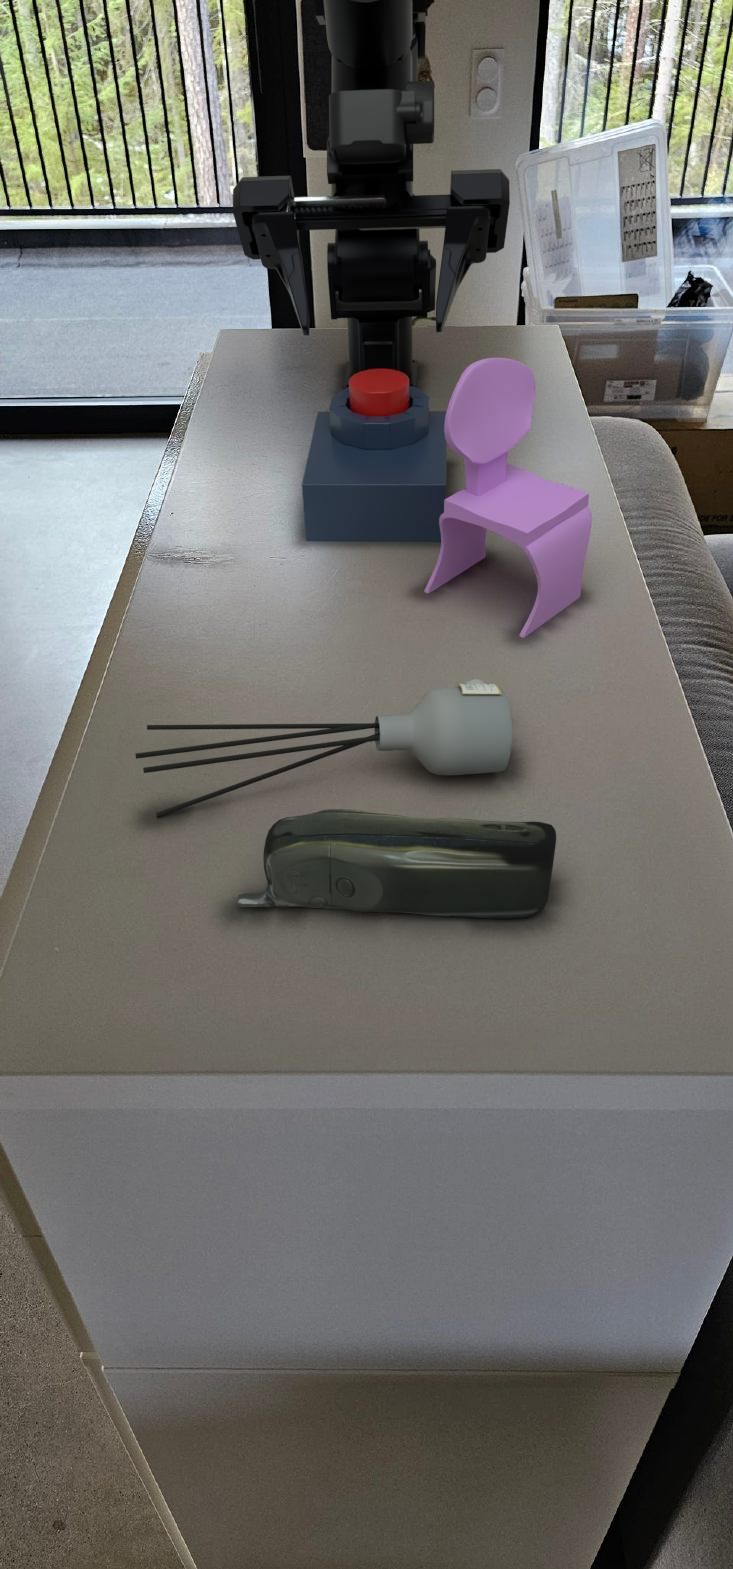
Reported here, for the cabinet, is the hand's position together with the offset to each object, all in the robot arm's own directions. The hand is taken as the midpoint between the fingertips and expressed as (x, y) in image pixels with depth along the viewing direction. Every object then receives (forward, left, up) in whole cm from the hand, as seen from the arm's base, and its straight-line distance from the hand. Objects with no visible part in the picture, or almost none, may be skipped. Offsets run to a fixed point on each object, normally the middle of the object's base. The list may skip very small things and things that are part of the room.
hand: (372, 331), depth 76 cm
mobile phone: (+41, +3, -13) cm, 43 cm away
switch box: (+1, 0, -12) cm, 12 cm away
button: (-2, 0, -6) cm, 7 cm away
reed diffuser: (+32, -1, -13) cm, 34 cm away
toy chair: (+14, +9, -13) cm, 21 cm away
